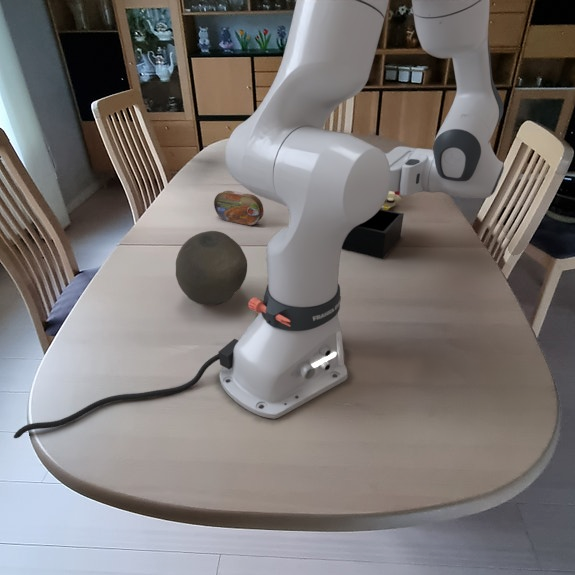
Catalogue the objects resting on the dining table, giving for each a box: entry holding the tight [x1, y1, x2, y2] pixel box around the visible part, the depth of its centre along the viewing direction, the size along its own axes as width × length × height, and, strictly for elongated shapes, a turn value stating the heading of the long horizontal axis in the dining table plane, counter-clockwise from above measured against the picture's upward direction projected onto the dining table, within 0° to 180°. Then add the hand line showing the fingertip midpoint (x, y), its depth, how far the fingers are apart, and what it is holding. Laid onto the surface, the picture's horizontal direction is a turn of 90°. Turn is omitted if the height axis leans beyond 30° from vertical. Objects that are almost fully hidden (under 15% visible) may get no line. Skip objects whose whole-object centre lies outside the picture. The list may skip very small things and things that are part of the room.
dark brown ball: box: [175, 230, 248, 306], centre depth 90 cm, size 14×14×15 cm
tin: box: [213, 190, 264, 226], centre depth 124 cm, size 15×3×8 cm, turn 62°
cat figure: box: [381, 191, 402, 211], centre depth 137 cm, size 10×9×25 cm
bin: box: [341, 208, 404, 260], centre depth 113 cm, size 16×13×7 cm
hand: (362, 161), depth 104 cm, fingers closed on bin lid, 5 cm apart
